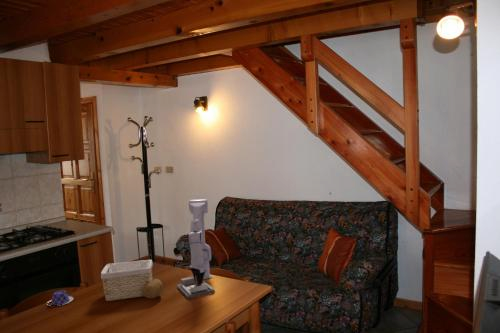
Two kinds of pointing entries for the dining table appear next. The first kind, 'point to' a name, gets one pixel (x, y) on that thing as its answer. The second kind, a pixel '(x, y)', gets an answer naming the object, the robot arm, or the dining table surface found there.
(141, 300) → the dining table surface
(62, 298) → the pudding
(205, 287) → the press handle
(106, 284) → the storage basket
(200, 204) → the robot arm
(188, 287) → the base
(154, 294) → the potato
